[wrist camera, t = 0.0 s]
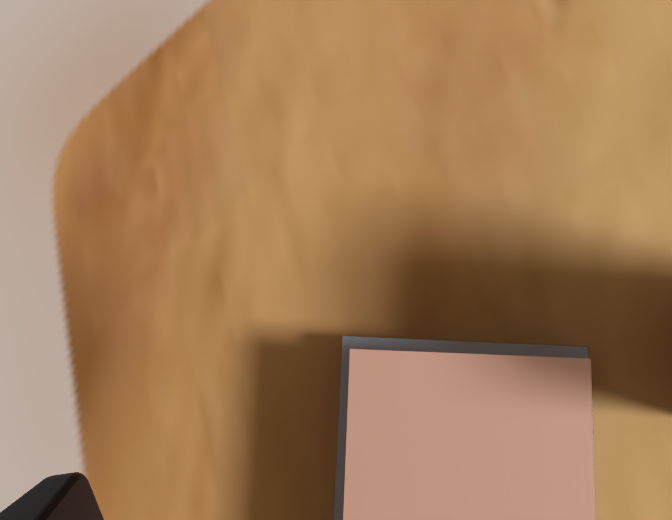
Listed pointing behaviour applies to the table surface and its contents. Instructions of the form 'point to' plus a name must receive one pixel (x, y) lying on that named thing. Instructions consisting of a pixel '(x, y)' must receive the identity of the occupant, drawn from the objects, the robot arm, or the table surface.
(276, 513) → the table surface
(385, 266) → the table surface
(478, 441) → the terracotta top slab
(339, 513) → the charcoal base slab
